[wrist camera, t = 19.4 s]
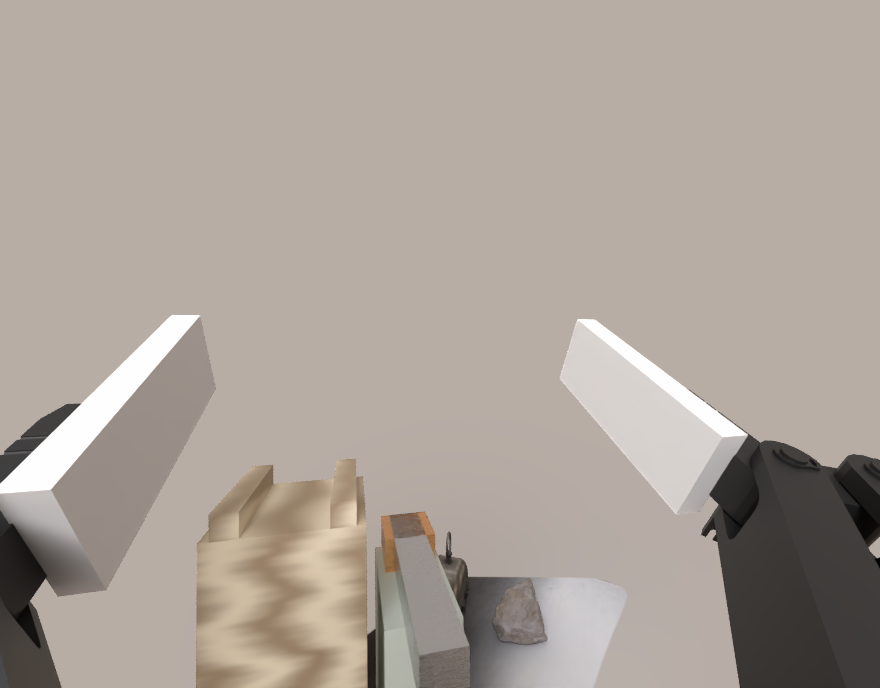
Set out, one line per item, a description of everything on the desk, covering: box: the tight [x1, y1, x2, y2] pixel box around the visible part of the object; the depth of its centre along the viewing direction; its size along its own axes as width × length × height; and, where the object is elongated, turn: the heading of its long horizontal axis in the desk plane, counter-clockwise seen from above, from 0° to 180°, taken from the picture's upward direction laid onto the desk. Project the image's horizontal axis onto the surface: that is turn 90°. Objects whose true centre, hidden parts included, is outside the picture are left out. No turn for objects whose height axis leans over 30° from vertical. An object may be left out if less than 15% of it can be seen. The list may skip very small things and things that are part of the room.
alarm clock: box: [438, 532, 469, 623], centre depth 56 cm, size 11×5×16 cm, turn 167°
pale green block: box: [375, 547, 464, 688], centre depth 39 cm, size 7×14×20 cm, turn 13°
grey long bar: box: [381, 512, 470, 688], centre depth 36 cm, size 6×22×4 cm, turn 13°
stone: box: [493, 578, 547, 644], centre depth 59 cm, size 10×8×6 cm
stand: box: [196, 459, 367, 688], centre depth 34 cm, size 12×12×32 cm
